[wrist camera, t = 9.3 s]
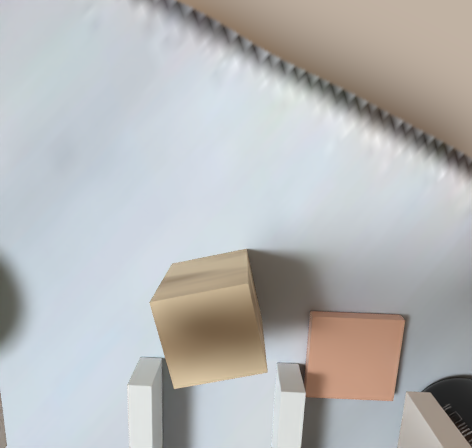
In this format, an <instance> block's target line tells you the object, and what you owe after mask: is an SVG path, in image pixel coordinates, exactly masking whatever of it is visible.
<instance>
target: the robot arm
mask: <svg viewBox="0 0 472 448" xmlns="http://www.w3.org/2000/svg"><path fill="white" fill-rule="evenodd" d="M6 446H7V442H6V434H5V426H4V418H3V409H2V401H1V393H0V448H5V447H6ZM397 448H472V447H471V446H470V444H469V443H468V442H467V440H466V439H465V438H464V436H463V435H462V434H461V432H460V431H459V430H458V428H457V427H456V426H455V424H454V423H453V422H452V421H451V419H450V418H449V417H448V415H447V414H446V413H445V411H444V410H443V409H442V407H441V406H440V405H439V403H438V402H437V401H436V399H435V398H434V397H433V395H432V394H431V393H430V392H408V391H406V397H405V403H404V409H403V415H402V422H401V428H400V434H399V440H398V447H397Z"/></svg>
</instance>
